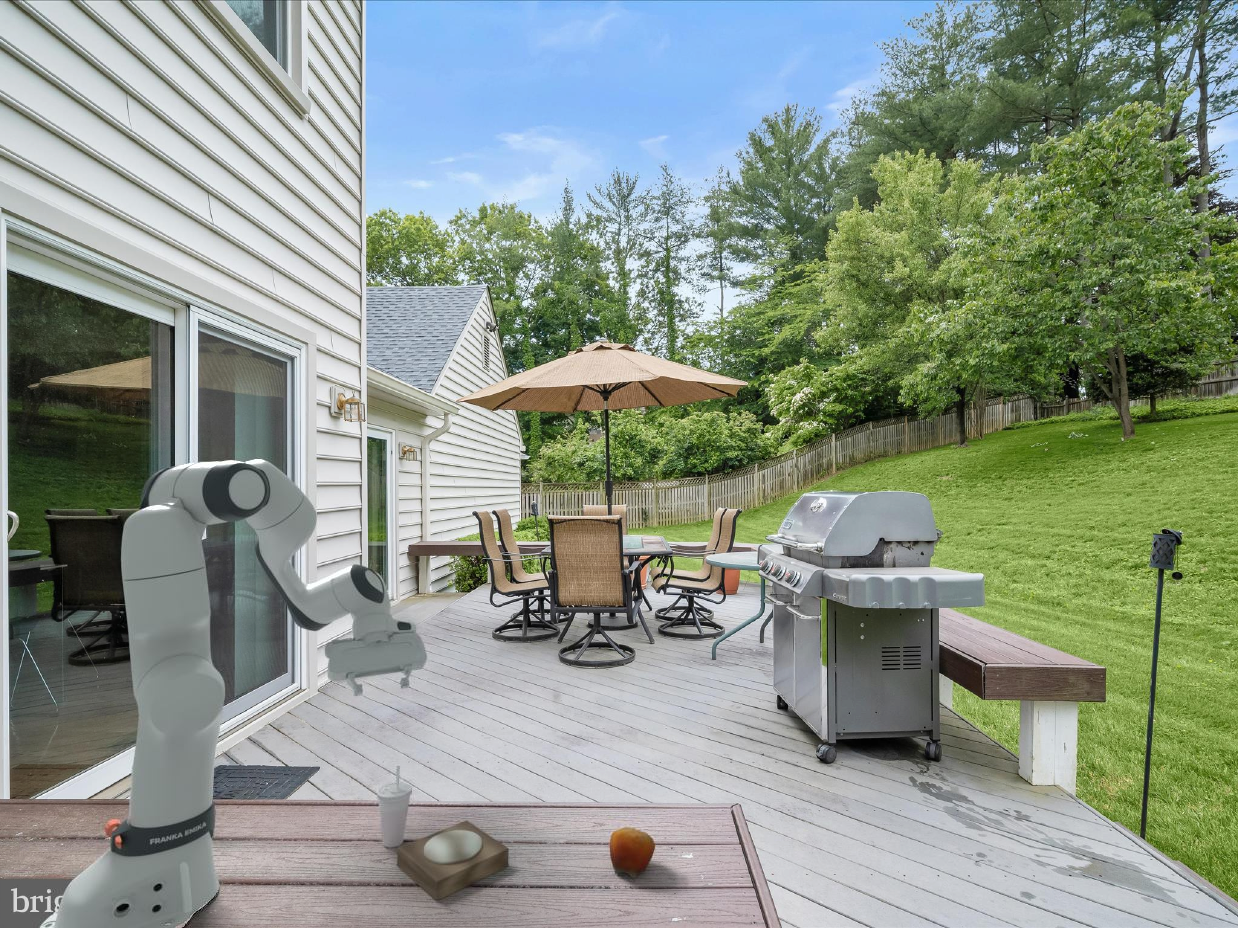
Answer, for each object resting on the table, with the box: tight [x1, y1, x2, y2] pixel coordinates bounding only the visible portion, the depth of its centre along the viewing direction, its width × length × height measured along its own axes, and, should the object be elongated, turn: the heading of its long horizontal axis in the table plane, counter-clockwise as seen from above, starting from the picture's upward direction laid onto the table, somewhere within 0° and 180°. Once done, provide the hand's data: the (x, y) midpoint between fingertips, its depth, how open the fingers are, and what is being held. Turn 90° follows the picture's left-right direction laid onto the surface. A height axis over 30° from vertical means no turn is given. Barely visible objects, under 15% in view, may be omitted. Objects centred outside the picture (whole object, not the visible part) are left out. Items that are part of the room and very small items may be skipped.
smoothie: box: [376, 765, 413, 848], centre depth 118 cm, size 6×6×14 cm
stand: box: [396, 820, 510, 902], centre depth 109 cm, size 14×14×4 cm
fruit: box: [609, 826, 656, 882], centre depth 108 cm, size 8×8×8 cm
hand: (382, 690), depth 130 cm, fingers open, 8 cm apart
